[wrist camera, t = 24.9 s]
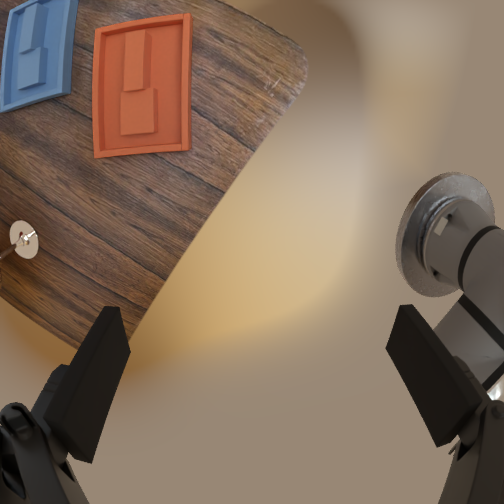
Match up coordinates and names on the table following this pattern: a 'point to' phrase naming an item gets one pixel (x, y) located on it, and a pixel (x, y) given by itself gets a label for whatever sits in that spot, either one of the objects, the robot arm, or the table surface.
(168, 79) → the red tray
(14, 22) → the blue tray
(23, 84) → the blue stepped block
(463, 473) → the robot arm
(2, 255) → the wineglass
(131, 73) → the red offset step block
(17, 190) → the table surface
